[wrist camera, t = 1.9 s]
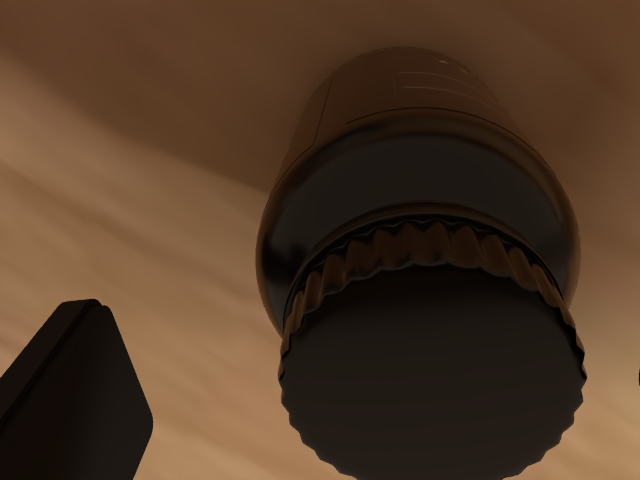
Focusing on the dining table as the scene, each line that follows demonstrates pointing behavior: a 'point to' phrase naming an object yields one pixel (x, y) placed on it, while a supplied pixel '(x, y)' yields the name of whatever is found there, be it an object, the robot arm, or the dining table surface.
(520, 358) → the supplement bottle
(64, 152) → the dining table surface
